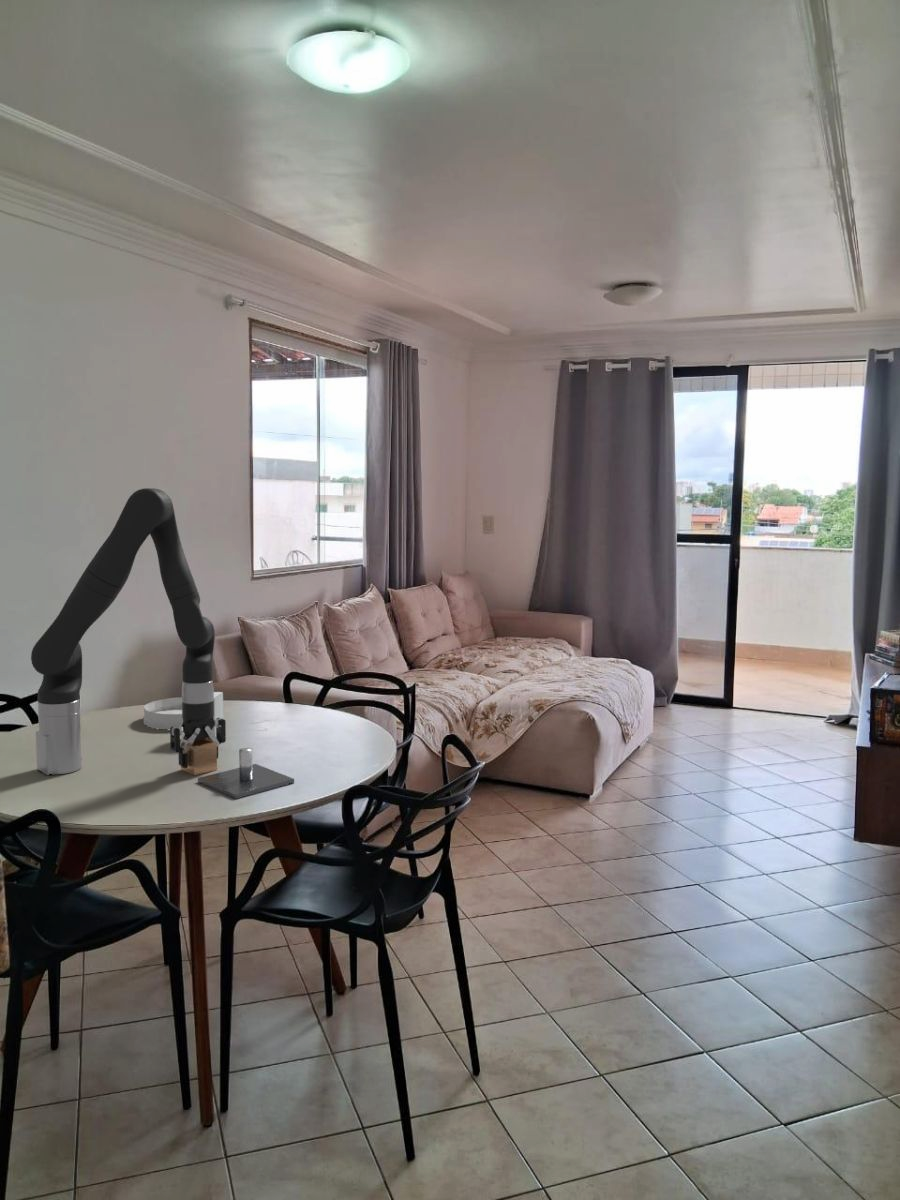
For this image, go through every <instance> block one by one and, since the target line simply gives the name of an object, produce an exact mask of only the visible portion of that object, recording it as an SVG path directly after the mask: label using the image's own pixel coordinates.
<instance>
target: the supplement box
mask: <svg viewBox="0 0 900 1200" xmlns="http://www.w3.org/2000/svg"><path fill="white" fill-rule="evenodd" d="M217 718H221V719H224V693H223V691H214V717H213V719H214V720H216V719H217ZM224 720H225V719H224ZM212 732H213V734H214V735H215V736H216V727H215V726H214V727H213V729H212Z"/></svg>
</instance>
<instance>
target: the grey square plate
mask: <svg viewBox="0 0 900 1200" xmlns="http://www.w3.org/2000/svg"><path fill="white" fill-rule="evenodd" d="M238 755H239V760H238V761H239V764H238V765H239V767H237V768H233V769H228V770H225V771H220V772H217V773H213V774H208V775H204V776H200V777H198V778H197V783H199V784H201V785H203V786H205V787H208V788H210V789H212V790H215V791H217V792H219V793H221V794H223V795H226V796H228V797H231V798H232V799H234V798H235V800H238V799H240V797H241V798H244V797H243V796H245V797H248V796H247V795H249V796H251V794H252V795H255V794H254V793H256V794H259V793H258V792H260V793H262V792H261V791H263V792H266V791H265V790H267V791H270V790H269V789H271V790H273V789H272V788H274V789H277V788H276V787H278V788H280V787H279V786H282V787H284V786H283V785H285V786H288V785H287V784H289V783H293V782H294V783H295V778H293V777H291V776H287V775H286V774H283V773H281V772H280V773H279V772H277V771H275V770H273V769H269V768H268V767H265V766H262V765H259V764H257V763H254V764H253V748H251V747H241V748H239V753H238ZM294 783H293V784H294ZM289 785H290V784H289ZM237 798H238V799H237Z"/></svg>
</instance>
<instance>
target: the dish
mask: <svg viewBox="0 0 900 1200" xmlns="http://www.w3.org/2000/svg"><path fill="white" fill-rule="evenodd" d="M143 724H144V726H145V725H147V726H149V727H153V728H158V729H157V730H159V729H170V728H171V727H172V726H173V727H180V726H182V724H183V718H182V696H180V697H179V696H178V697H169V698H162V699H157V700H153V701H150V702H148V703H146V704H145V705H144V708H143ZM147 726H146V727H147ZM149 727H148V728H149ZM153 728H152V729H153Z"/></svg>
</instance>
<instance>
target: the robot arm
mask: <svg viewBox="0 0 900 1200" xmlns="http://www.w3.org/2000/svg"><path fill="white" fill-rule="evenodd" d="M175 514H176V513H175V509H174V504H173V500H172V498H171V497H170V496H169V494H168V493H166V492H165V491H164V490H161V489H158V488H153V487H152V488H148V487H144V488H140V489H138V490H136V491H134V492H133V493H132V494H131V495H130V496H129V497H128V498H127V501H126V502H125V504H124V507H123V508H122V511H121V513H120V515H119V516H118V519H117V520H116V523H115V525H114V527H113V528H112V530H111V532H110V534H109V535H108V537H107V538H106V540H104V542H103V543H102V545H101V546H100V547H99V549H98V550H97V552H96V553H95V554H94V556H93V558H92V559H91V561H90V562H89V563H88V565H87V566H86V568H85V570H84V571H83V573H82V574H81V576H80V577H79V579H78V581H77V582H76V585H75V586H74V588H73V589H72V591H71V592H70V593H69V596H68V597H67V599H66V601H65V602H64V605H63V606H62V608H61V610H60V612H59V614H58V615H57V616H56V618H55V619H54V620H53V622H52V623H51V624H50V625H49V627H47V629H46V630H45V632H43V634H42V635H41V637H40V638H39V639H38V640H37V641H36V643H35V644H34V646H33V648H32V650H31V652H30V653H31V655H30V660H31V665H32V667H33V669H34V670H35V671H36V672H37V673H39V674H40V675H42V681H41V683H40V686H39V688H38V690H37V709H38V710H37V713H38V714H37V716H38V718H37V719H38V731H36V732H35V746H36V747H35V749H36V770H37V769H39V770H40V771H42V772H43V773H42V772H41V773H42V774H44V773H45V774H46V776H50V775H49V774H52V775H63V774H70V773H74V772H77V771H78V770H81V769H82V767H83V766H82V763H83V762H82V760H83V759H82V739H81V738H82V736H81V709H80V708H81V705H80V703H81V701H80V691H81V688H82V685H83V654H82V647H81V644H80V643H81V640H82V638H83V636H84V635H85V634H86V632H87V631H88V630H89V629H90V627H92V625H93V624H94V623H95V622H96V621H97V620H98V619H99V618H100V617H101V616H103V614H104V613H105V612H106V611H107V610H108V609H109V608H110V606H111V605H112V604H113V603H114V601H115V599H116V598H117V597H118V595H120V593H121V590H122V589H123V587H124V586H125V584H126V582H127V581H128V579H129V576H130V574H131V571H132V568H133V565H134V562H135V559H136V556H137V554H138V552H139V551H140V548H141V547H142V545H143V544H144V542H145V541H146V539H147V538H148V537H149V536H150V537H151V539H152V542H153V544H154V548H155V551H156V554H157V559H158V566H159V572H160V577H161V581H162V585H163V587H164V591H165V594H166V596H167V599H168V601H169V604H170V606H171V609H172V615H173V621H174V625H175V630H176V632H177V636H178V638H179V640H180V642H181V643H182V645H184V646H185V647H186V648H185V657H184V659H183V661H182V668H181V669H182V684H181V685H182V687H181V697H182V718H183V724H182V726H180V727H173V726H172V727H171V728H170V730H169V733H170V734H169V735H170V736H169V737H170V742H169V743H170V747H169V748H170V751H172V752H174V753H176V754H178V765H179V766H180V768H181V767H182V768H187V767H188V754H187V751H188V749H189V747H190V746H191V745H192V744H193V742H194V741H198V740H200V739H208V740H211V741H214V742H217V760H218V758H219V746H220V745H221V744H225V742H226V741H227V737H226V736H227V735H226V732H227V731H226V726H227V725H226V724H227V723H226V720H225V719H221V718H217V719H216V720H214V719H213V717H214V692H215V688H214V681H213V680H214V679H213V678H214V677H213V674H214V673H213V655H214V647H215V639H216V638H215V636H216V635H215V633H216V631H215V627H214V624H213V623H212V621H211V620H210V619H209V618H208V617H205V616H203V614H202V610H201V607H200V603H201V597H200V594H199V590H198V588H197V585H196V583H195V579H194V577H193V575H192V572H191V569H190V566H189V563H188V560H187V558H186V555H185V552H184V549H183V545H182V541H181V537H180V535H179V534H180V533H179V530H178V525H177V519H176V515H175ZM214 726H215V727H216V736H215V735H214V734H213V732H212V729H213V727H214ZM182 733H184V734H183V736H182ZM181 736H182V737H181ZM40 771H39V772H40ZM45 774H44V775H45Z"/></svg>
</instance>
